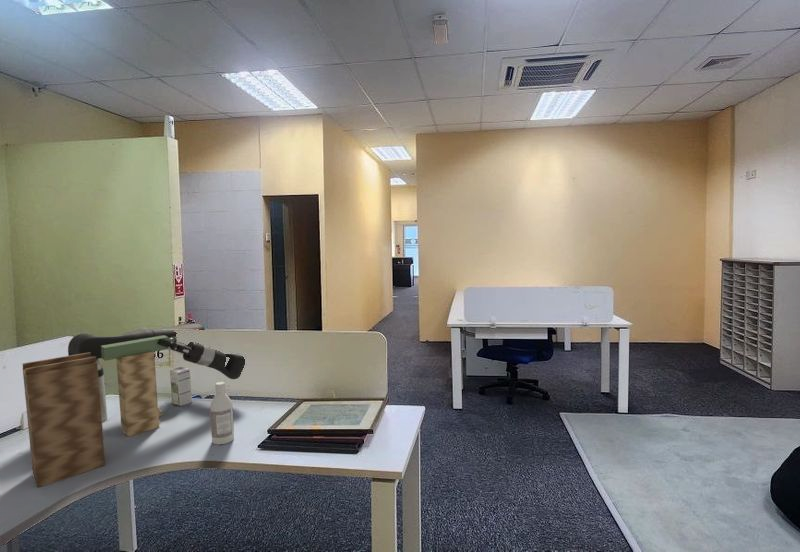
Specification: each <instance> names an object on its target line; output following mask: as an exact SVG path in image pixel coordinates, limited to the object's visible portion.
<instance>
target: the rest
mask: <svg viewBox="0 0 800 552" xmlns="http://www.w3.org/2000/svg"><path fill="white" fill-rule="evenodd" d="M155 358H156V357H155V352H148V353H143V354H137V355H131V356H126V357H121V358H117V359H115V360H116V361H115V362H116V371H117V373H116V374H117V388H118V397H119V398H118V400H119V411H120V414H119V415H120V426H121V431H122V432H123V434H125V435H126V436H127V437H130V436H131V437H132V436H135V435H139V434H142V433H145V432H148V431H152V430H155V429H159V428H160V419H159V418H160V417H159V416H158V409H159V403H158V402H159V401H158V388H157V387H158V386H157V374H156V373H157V372H156V361H155Z"/></svg>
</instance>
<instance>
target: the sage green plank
mask: <svg viewBox="0 0 800 552" xmlns="http://www.w3.org/2000/svg"><path fill="white" fill-rule="evenodd" d="M159 339H163V340H166V341H169V342H173V343H175V342H178V338H177V337H172V338H168V337H167V336H165V335H163V336H157V337H151V338H145V339H139V340H133V341H127V342H121V343H115V344H108V345H102V346H101V353H102V358H101V359H102V360H104V362H106V361H112V360H116V359H117V358H121V357H126V356H131V355H137V354H143V353H148V352H154V353H155V352H158V351H159V352H160V351H165V350H169V349H168V347H164V346H161V345H158V344H157V342H158V340H159Z"/></svg>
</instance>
